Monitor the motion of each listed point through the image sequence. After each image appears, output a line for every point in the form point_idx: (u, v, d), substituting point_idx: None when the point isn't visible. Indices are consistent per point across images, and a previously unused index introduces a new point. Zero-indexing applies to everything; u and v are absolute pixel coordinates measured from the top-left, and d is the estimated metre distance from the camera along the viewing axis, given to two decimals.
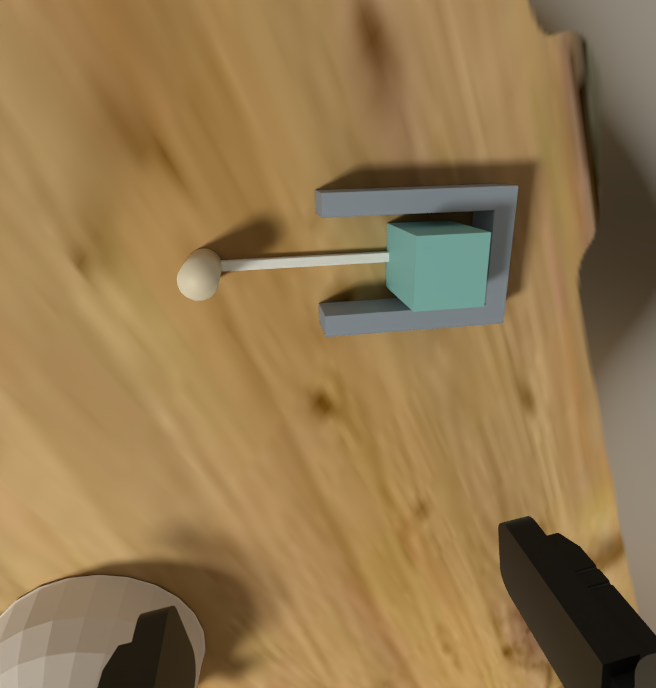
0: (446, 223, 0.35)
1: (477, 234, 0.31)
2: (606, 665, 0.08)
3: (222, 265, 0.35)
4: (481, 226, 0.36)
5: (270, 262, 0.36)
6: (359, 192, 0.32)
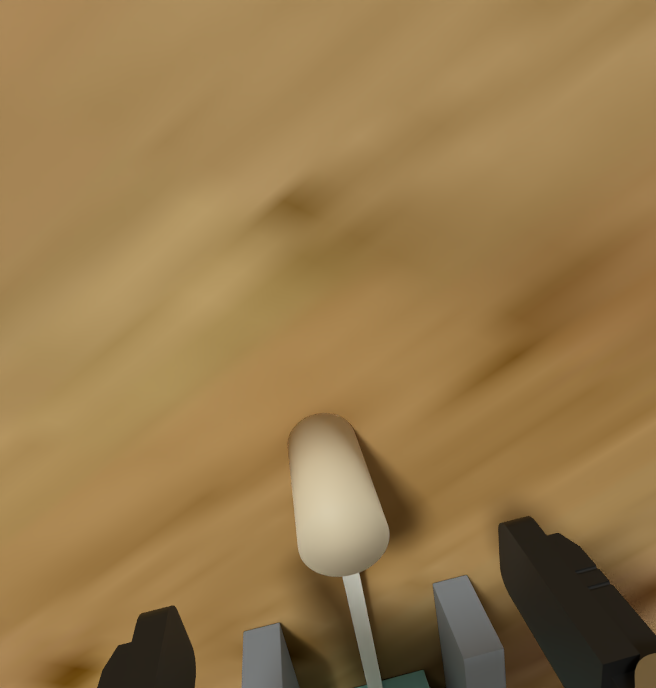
0: None
1: None
2: (606, 665, 0.08)
3: None
4: None
5: None
6: None
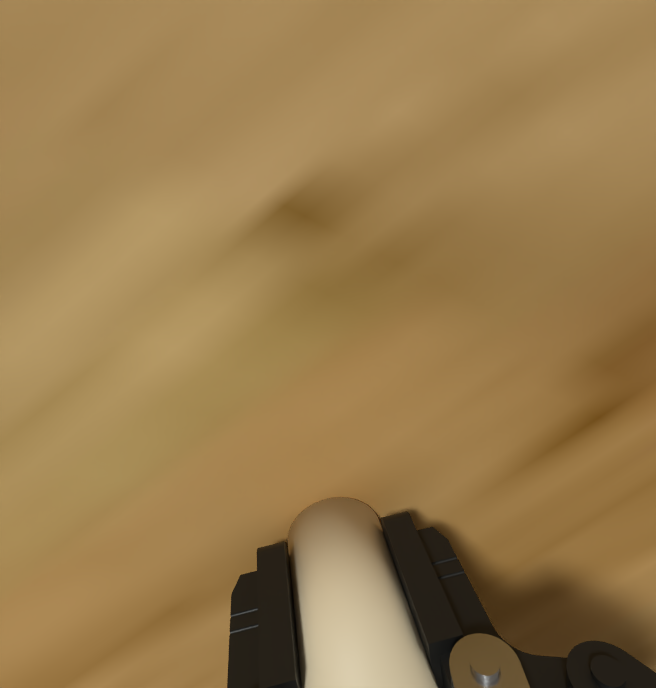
0: None
1: None
2: (431, 644, 0.09)
3: None
4: None
5: None
6: None
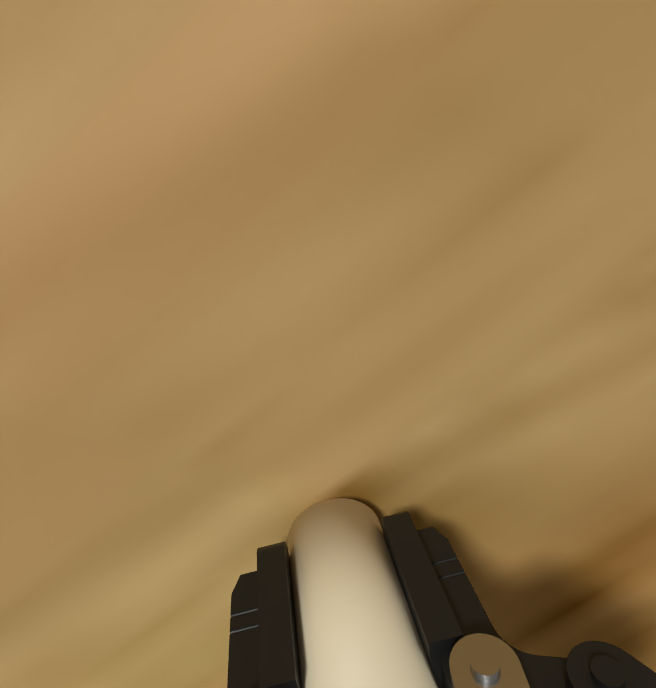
0: None
1: None
2: (431, 644, 0.09)
3: None
4: None
5: None
6: None
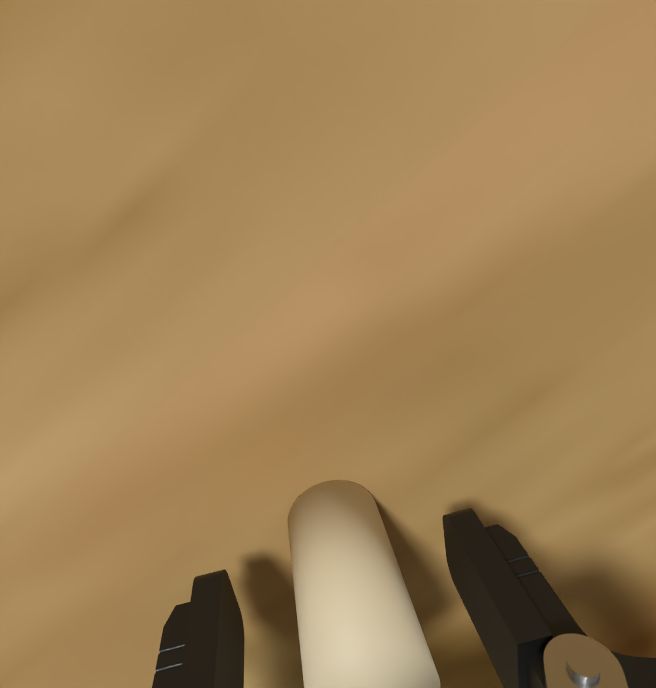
0: None
1: None
2: (520, 645, 0.09)
3: None
4: None
5: None
6: None
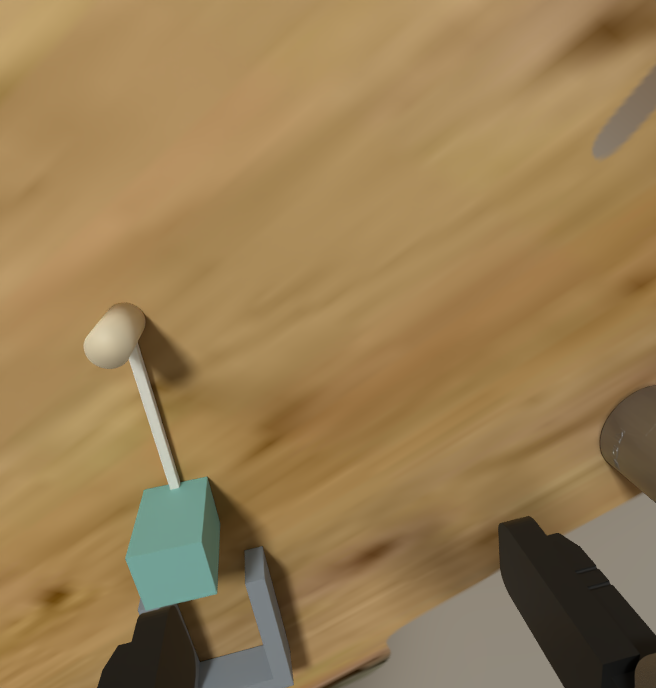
0: (217, 531, 0.38)
1: (213, 584, 0.34)
2: (606, 665, 0.08)
3: None
4: (257, 662, 0.45)
5: (144, 387, 0.34)
6: (269, 600, 0.40)
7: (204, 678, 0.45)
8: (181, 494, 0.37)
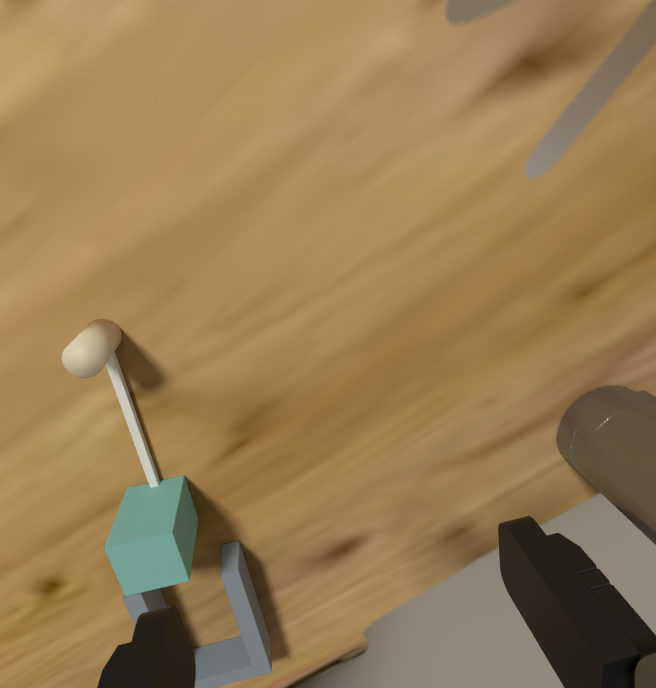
0: (193, 525, 0.42)
1: (185, 572, 0.37)
2: (606, 665, 0.08)
3: None
4: (238, 651, 0.48)
5: (123, 394, 0.38)
6: (244, 590, 0.43)
7: None
8: (159, 491, 0.40)
